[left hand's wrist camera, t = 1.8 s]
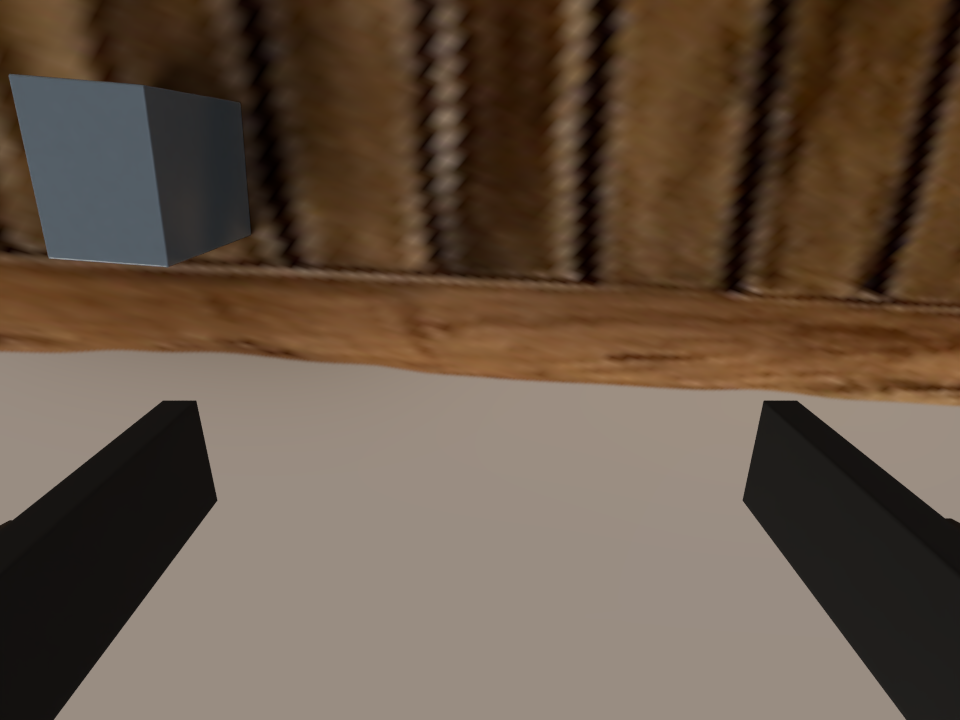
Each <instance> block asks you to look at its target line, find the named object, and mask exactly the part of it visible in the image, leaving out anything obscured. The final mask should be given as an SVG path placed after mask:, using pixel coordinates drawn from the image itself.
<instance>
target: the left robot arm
mask: <svg viewBox="0 0 960 720" xmlns="http://www.w3.org/2000/svg"><path fill="white" fill-rule="evenodd" d="M216 502H217V497H216V492H215V487H214V482H213V478H212V473H211V468H210V463H209V459H208V454H207V449H206V445H205V440H204V435H203V430H202V426H201V421H200V416H199V411H198V407H197V402H196V401H162V402H161V403H160V404H158V405H157V406H156V407H155V408H153V409H152V410H151V411H150V412H148V413H147V414H146V415H145V416H143V417H142V418H141V419H139V420H138V421H137V422H136V423H134V424H133V425H132V426H131V427H129V428H128V429H127V430H126V431H124V432H123V433H122V434H121V435H119V436H118V437H117V438H116V439H114V440H113V441H112V442H111V443H109V444H108V445H107V446H106V447H104V448H103V449H102V450H101V451H99V452H98V453H97V454H96V455H94V456H93V457H92V458H90V459H89V460H88V461H87V462H85V463H84V464H83V465H82V466H81V467H79V468H78V469H77V470H75V471H74V472H73V473H72V474H70V475H69V476H68V477H67V478H65V479H64V480H63V481H62V482H60V483H59V484H58V485H57V486H55V487H54V488H53V489H52V490H50V491H49V492H48V493H47V494H45V495H44V496H43V497H41V498H40V499H39V500H38V501H37V502H35V503H34V504H33V505H31V506H30V507H29V508H28V509H27V510H25V511H24V512H23V513H21V514H20V515H19V516H18V517H16V518H15V519H14V520H10V521H8V522H6V523H4V524H2V525H0V720H54V719H55V717H56V716H57V715H58V713H59V712H60V711H61V709H62V708H63V707H64V705H65V704H66V703H67V701H68V700H69V699H70V697H71V696H72V694H73V693H74V692H75V690H76V689H77V688H78V686H79V685H80V684H81V682H82V681H83V680H84V678H85V677H86V676H87V674H88V673H89V672H90V670H91V669H92V668H93V666H94V665H95V664H96V662H97V661H98V660H99V658H100V657H101V656H102V654H103V653H104V652H105V650H106V649H107V648H108V646H109V645H110V643H111V642H112V641H113V640H114V638H115V637H116V636H117V634H118V633H119V631H120V630H121V629H122V627H123V626H124V625H125V623H126V622H127V621H128V619H129V618H130V617H131V615H132V614H133V613H134V611H135V610H136V609H137V607H138V606H139V605H140V603H141V602H142V601H143V599H144V598H145V597H146V595H147V594H148V593H149V591H150V590H151V589H152V587H153V586H154V585H155V583H156V582H157V580H158V579H159V578H160V577H161V575H162V574H163V573H164V571H165V570H166V569H167V567H168V566H169V564H170V563H171V562H172V560H173V559H174V558H175V556H176V555H177V554H178V552H179V551H180V550H181V548H182V547H183V546H184V544H185V543H186V542H187V540H188V539H189V538H190V536H191V535H192V534H193V532H194V531H195V530H196V528H197V527H198V526H199V524H200V523H201V522H202V520H203V519H204V518H205V516H206V515H207V514H208V512H209V511H210V510H211V508H212V507H213V506H214V504H215V503H216ZM743 502H744V503H745V504H746V506H747V507H748V508H749V510H750V511H751V512H752V514H753V515H754V516H755V518H756V519H757V520H758V522H759V523H760V524H761V526H762V527H763V528H764V530H765V531H766V532H767V534H768V535H769V536H770V538H771V539H772V540H773V542H774V543H775V544H776V546H777V547H778V548H779V550H780V551H781V552H782V554H783V555H784V556H785V558H786V559H787V560H788V562H789V563H790V564H791V566H792V567H793V569H794V570H795V571H796V573H797V574H798V575H799V577H800V578H801V579H802V581H803V582H804V583H805V585H806V586H807V587H808V589H809V590H810V591H811V593H812V594H813V595H814V597H815V598H816V599H817V601H818V602H819V603H820V605H821V606H822V607H823V609H824V610H825V611H826V613H827V614H828V615H829V617H830V618H831V619H832V621H833V622H834V623H835V625H836V626H837V627H838V629H839V630H840V631H841V633H842V634H843V636H844V637H845V638H846V640H847V641H848V642H849V644H850V645H851V646H852V648H853V649H854V650H855V652H856V653H857V654H858V656H859V657H860V658H861V660H862V661H863V662H864V664H865V665H866V666H867V668H868V669H869V670H870V672H871V673H872V674H873V676H874V677H875V678H876V680H877V681H878V682H879V684H880V685H881V686H882V688H883V689H884V690H885V692H886V693H887V694H888V696H889V697H890V698H891V700H892V701H893V702H894V704H895V705H896V707H897V708H898V709H899V711H900V712H901V713H902V714H903V716H904V717H905V719H906V720H960V523H959V522H957V521H955V520H953V519H945V518H944V517H942V516H941V515H940V514H939V513H937V512H936V511H935V510H933V509H932V508H931V507H930V506H929V505H927V504H926V503H925V502H924V501H922V500H921V499H920V498H918V497H917V496H916V495H915V494H913V493H912V492H911V491H910V490H908V489H907V488H906V487H905V486H903V485H902V484H901V483H900V482H898V481H897V480H896V479H895V478H893V477H892V476H891V475H890V474H888V473H887V472H886V471H885V470H883V469H882V468H881V467H880V466H878V465H877V464H876V463H875V462H873V461H872V460H871V459H869V458H868V457H867V456H866V455H864V454H863V453H862V452H861V451H859V450H858V449H857V448H856V447H854V446H853V445H852V444H851V443H849V442H848V441H847V440H846V439H844V438H843V437H842V436H841V435H839V434H838V433H837V432H836V431H834V430H833V429H832V428H831V427H829V426H828V425H827V424H826V423H824V422H823V421H822V420H820V419H819V418H818V417H817V416H815V415H814V414H813V413H812V412H810V411H809V410H808V409H807V408H805V407H804V406H803V405H802V404H800V403H799V402H798V401H764V402H763V407H762V412H761V416H760V421H759V426H758V431H757V435H756V440H755V445H754V449H753V454H752V459H751V463H750V468H749V473H748V478H747V482H746V487H745V492H744V497H743Z"/></svg>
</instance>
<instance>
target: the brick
mask: <svg viewBox="0 0 960 720" xmlns="http://www.w3.org/2000/svg"><path fill="white" fill-rule="evenodd" d="M9 80H10V84H11V89H12V93H13V98H14V102H15V107H16V111H17V116H18V121H19V125H20V130H21V134H22V139H23V143H24V148H25V153H26V157H27V162H28V166H29V171H30V175H31V180H32V184H33V189H34V194H35V198H36V203H37V207H38V212H39V216H40V221H41V226H42V230H43V235H44V239H45V244H46V248H47V253H48V257H49V258H50V259H63V260H76V261H89V262H103V263H116V264H129V265H143V266H156V267H170V266H173V265H175V264H178V263H180V262H183V261H185V260H188V259H191V258H193V257H196V256H198V255H201V254H204V253H206V252H209V251H211V250H214V249H216V248H219V247H222V246H224V245H227V244H229V243H232V242H235V241H237V240H240V239H242V238H245V237H247V236H250V235H251V229H250V216H249V204H248V191H247V179H246V166H245V154H244V141H243V128H242V116H241V104H240V102H237V101H231V100H225V99H220V98H214V97H208V96H203V95H197V94H192V93H186V92H180V91H175V90H169V89H164V88H158V87H152V86H147V85H140V84H128V83H115V82H103V81H91V80H79V79H67V78H55V77H43V76H30V75H18V74H9Z"/></svg>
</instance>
